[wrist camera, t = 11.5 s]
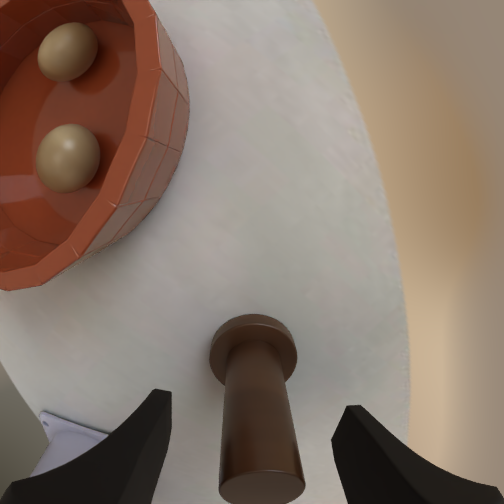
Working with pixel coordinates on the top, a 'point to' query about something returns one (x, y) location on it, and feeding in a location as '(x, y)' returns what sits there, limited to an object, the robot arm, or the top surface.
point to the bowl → (94, 119)
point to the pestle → (256, 412)
